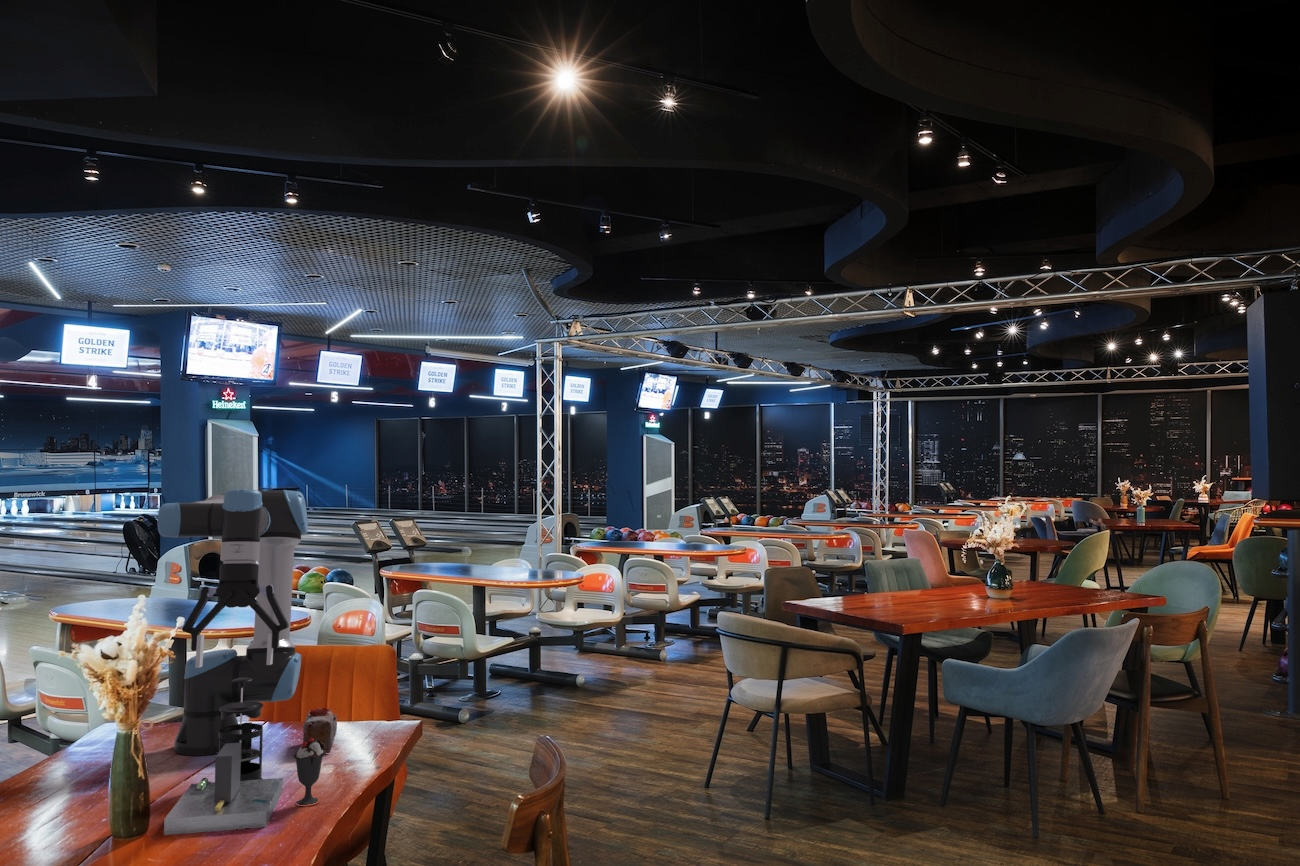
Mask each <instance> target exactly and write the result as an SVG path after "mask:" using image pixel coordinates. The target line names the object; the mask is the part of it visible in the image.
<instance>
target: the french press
mask: <svg viewBox="0 0 1300 866" xmlns="http://www.w3.org/2000/svg"><path fill="white" fill-rule="evenodd" d="M252 680H253V679H252V678H237V679H234V680H232V682H234V683H240V688H241V702H237V703H231V704H227V705H223V706H221V707H220V708H219V711H220V712H221V719H222V720H223V719H226V718H227V717H228V716H229V715H231V714H234V713H235V714H239V715H240V716H239V718H240V719H239V723H238V724H235V725H230V726H226V727H223V728H221V729H220V730H219V731H218V753H219V752H220V750H221V740H226V741H231V743H241V768H240V781H244V780H259V779H263V778H262V774H263V773H262V770H263V769H262V768H263V767H262V765H263V763H262V762H263V738H264V737H263V733H264V732H263V731H264V729H263V728H264V726H263V725H261V724H259V723H253V722H243V716H246V717H248V718H249V719H257V718H259V717H261V716H262V709H263V708H264V703H263V702H242V701H243V688H244V684H245V682H249V681H252ZM235 730H240V734H224V733H226V732H230V731H235ZM258 737H259V749H255V748H252V746H253V745H252V742H253V740H252V739H254V738H258ZM218 753H217V754H218ZM255 759H256V760H257V759H258V762H253V760H255Z"/></svg>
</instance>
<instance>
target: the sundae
mask: <svg viewBox="0 0 1300 866" xmlns="http://www.w3.org/2000/svg"><path fill="white" fill-rule="evenodd" d="M303 735H305V736H306V735H307V732H306V733H303ZM307 737H308V735H307ZM308 738H309V739H308V740H307V741H306V742H305V738H304V742H303V741H302V743H301V747H299V749H298V750H297V751H296V752H294V753H292V755H291V756H292V757H293V758H294V759H295V762H296V763H295V764H296V772H297V773H296V774H297V778H298V781H299V783H300V784H301V785H302V786H304V787H305V793H304V796H303V798H301V800H300V799H299V801H298V800H296V802H295V803H297V804H299V805H308V804H313V803H316V802H317V801H318V799H319V798H318V797H313V794H312V786H313V785H315V784H316V782H318V780H319V777H320V774H321V768H322V767H321V766H322V761H323V758H324V756H325V757H326V755H325V754H326V751H325V750H322V749H323V748H324V744H323V743H322V742H321V741H320V740H317V741H316V740H314V739H313V738H310V737H308ZM317 798H318V799H317Z"/></svg>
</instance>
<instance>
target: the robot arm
mask: <svg viewBox="0 0 1300 866" xmlns="http://www.w3.org/2000/svg"><path fill="white" fill-rule="evenodd" d="M307 512H308V511H307V505H306V500H305V497H304V494H303V493H302V492H301V491H298V490H287V489H274V490H273V489H271V490H270V489H267V490H266V489H264V490H263V489H262V490H259V489H257V490H256V489H247V488H246V489H244V488H235V489H228V490H226V491H225V492H223V493H220V494H215V495H211V496H209V497H207V498H206V499H204V500H199V501H193V502H171V503H169V502H168V503H163V504H162V505H161V506H160V507H159V509H158V513H157V524H156V525H157V531H158V534H159V535H160V536H161V537H164V538H174V539H178V538H221V543H220V561H221V562H222V563H221V564H220V565H219V578H218V585H217V587H210V586H208V585H207V586H206V585H205V586H203V587H202V588H201V592H200V597H199V599H198V601H197V603H196V604H195V606H194V607H193V610H192V611H191V613H190V614H189V615H188V617H187V620H186V621H185V622H184V624H183V626H182V628H181V629H182V632H183V633H187V634H190V635H191V644H190V649H191V652H195V655H193V656H192V657H190V658H189V659H188V660H187V661H186V663H185V665H184V666H185V667H184V669H185V670H184V676H183V679H184V683H183V684H184V687H183V713H182V714H183V716H182V720H181V724H180V725H179V729H178V732H177V734H176V736H175V740H174V747H173V749H174V753H176V754H179V755H183V756H206V755H217V754H218V731H219V730H220V729H221V728H223V727H226V726H230V725H235V724H239V721H238V718H237V715H236V713H234V714H231V715H229V716H228V717H227V718H226V719H223V720H222V719H221V712H220V711H219V708H220V707H221V706H223V705H227V704H231V703H237V702H241V688H240V683H234V682H232V680H234V679H237V678H252V679H253V680H252V681H249V682H245V684H244V688H243V701H242V702H260V703H269V702H270V703H275V702H282V701H288V700H290V699H292V698H293V696H294V694H295V693H296V689H297V686H298V681H299V678H300V672H301V667H302V666H301V664H302V663H301V662H302V654H300V653H298V652H296V646H295V645H294V643H292V641H291V639H290V635H291V619H292V618H291V617H292V602H293V601H292V598H293V580H294V578H293V577H294V563H295V562H294V558H295V548H296V546H297V545H299V544H300V543H301V542H302V536H304V535H307V534H308V532H309V528H308V527H309V525H308V524H309V523H308V513H307ZM257 562H258V563H257ZM214 594H216V595H217V597H218V598H219V599H220V600H218V602H217V603H216V604H215V605H214V607H213V608H212V609H211V610H210V611H209V612H208V613H207V614H206V615H205V616H204V617H203V618H202V619H201V620H200V621H199V622H198V624H196V623H197V621H198V618H199V617H200V615H201V613H202V612H203V610H204V608H205V607H206V605H207V603H208V601H209V599H210V598H212V597H213V596H214ZM226 607H227V608H230V609H231V608H233V609H234V608H237V607H238V608H247V607H250V608H251V609H252V610H253V611H254V613H255V615H254V627H253V640H252V642H251V643H250V644H249V645H248V646H247V647H246V650H245V651H246V652H245V655H238V652H237V650H236V649H232V648H231V649H228V648H227V649H226V648H225V649H218V650H213V651H208V652H204V649H205V648H204V645H205V634H201V633H202V631H203V630H204V629H205V628H206V627H207V626H208V625H209V624H210V623H211V622H212V621H213V620H214V619H215V618H216V616H218V614H220V612H221V611H222V610H223V609H224V608H226ZM195 624H196V626H194V625H195ZM224 734H240V730H235V731H230V732H226V733H224ZM226 743H231V741H226V740H221V749H222V748H223V746H224V745H225V744H226Z"/></svg>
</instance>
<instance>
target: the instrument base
mask: <svg viewBox="0 0 1300 866" xmlns="http://www.w3.org/2000/svg"><path fill="white" fill-rule="evenodd" d="M283 781H284V779H283V777H278V778H262V779H259V780H244V781H240V787H239V789H238V791H237V792H236V794H235V796H234V797H233V799H232V801H231V802H224V804H223V806H222V807H221V809H220V810H219V811H215V807H216V805H217V804H218V803H214V793H215V781H214V782H212V781H209V779H208V778H207V777H202V778H201V779H200V781H199V782H198V783H191V784H190V785H189V787H187V789H186V790H185V791H184V793H183V794H182V795H181V797H180V798H179V800H178V801H177V802H176V803H175V805H174V806H173V807H172V809H171V810H170V811H169V812H168V813H167V815H166V816H165V818H164V821H163V824H164V825H163V826H164V827H163V836H169V835H170V836H171V835H182V834H183V835H185V834H194V833H195V834H197V833H210V832H223V831H233V830H235V831H236V829H238V830H246V829H245V828H251V829H260V828H261V829H262V827H264V828H267V825H268V824H267V823H269V822H268V821H270V820H271V818H272V817H271V816H272V815H273V813H274V811H273V810H275V809H274V808H276V807H275V806H277V805H278V802H279V800H280V798H279V797H281V796H282V794H283V783H284V782H283ZM281 793H282V794H281ZM280 795H281V796H280ZM276 804H277V805H276ZM272 812H273V813H272Z"/></svg>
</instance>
